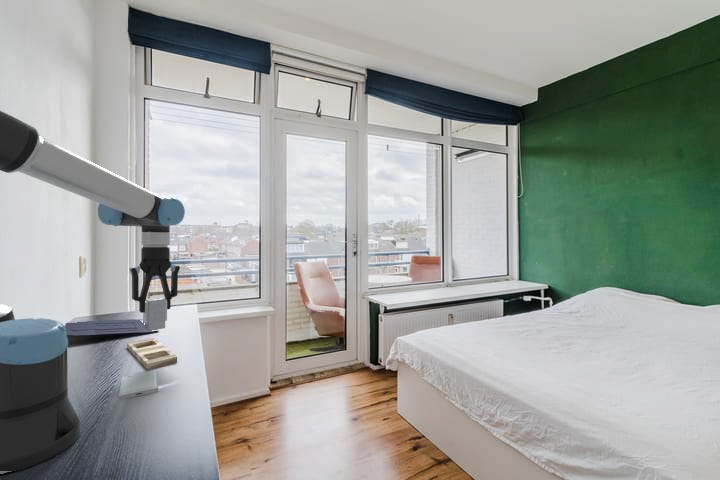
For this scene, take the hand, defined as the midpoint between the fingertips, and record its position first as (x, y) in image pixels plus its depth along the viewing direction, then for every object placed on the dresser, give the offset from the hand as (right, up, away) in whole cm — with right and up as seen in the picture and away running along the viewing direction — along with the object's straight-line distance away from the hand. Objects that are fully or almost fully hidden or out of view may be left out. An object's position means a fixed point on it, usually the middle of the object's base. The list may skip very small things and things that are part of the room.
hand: (155, 321), depth 103 cm
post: (0, -2, 0) cm, 2 cm away
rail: (-5, -13, +6) cm, 15 cm away
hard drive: (+5, -14, -15) cm, 21 cm away
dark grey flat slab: (-37, -13, +32) cm, 50 cm away
